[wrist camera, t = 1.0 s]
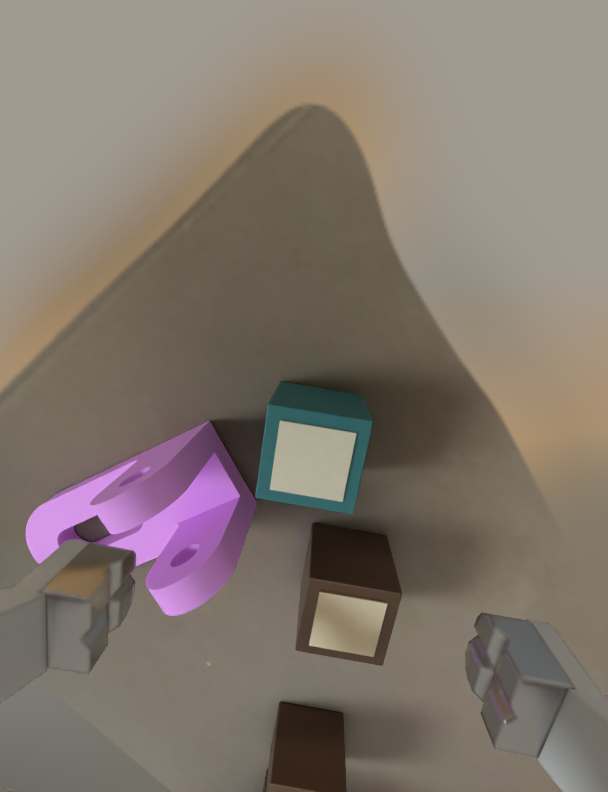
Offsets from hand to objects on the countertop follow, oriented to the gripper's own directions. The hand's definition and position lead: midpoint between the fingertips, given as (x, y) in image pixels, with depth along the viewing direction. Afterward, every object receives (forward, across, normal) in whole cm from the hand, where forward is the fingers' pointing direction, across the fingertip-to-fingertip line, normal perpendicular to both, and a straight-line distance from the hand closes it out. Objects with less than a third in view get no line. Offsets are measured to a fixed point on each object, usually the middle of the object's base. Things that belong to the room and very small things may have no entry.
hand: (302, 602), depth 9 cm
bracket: (+12, +10, +6) cm, 16 cm away
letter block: (+12, 0, 0) cm, 12 cm away
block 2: (+12, -3, +8) cm, 14 cm away
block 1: (+12, -3, +22) cm, 25 cm away
